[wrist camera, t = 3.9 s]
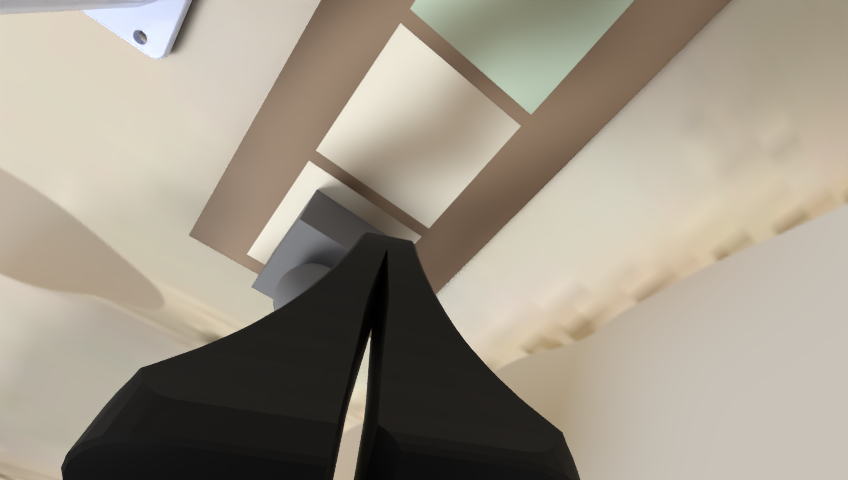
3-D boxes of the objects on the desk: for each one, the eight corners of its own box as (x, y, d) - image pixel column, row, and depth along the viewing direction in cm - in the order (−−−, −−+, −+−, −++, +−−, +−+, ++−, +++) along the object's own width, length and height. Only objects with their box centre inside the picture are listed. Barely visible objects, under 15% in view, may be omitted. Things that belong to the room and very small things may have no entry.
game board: (194, 229, 22) (188, 235, 21) (864, -953, 8) (894, -1017, 8) (385, 338, 25) (384, 345, 25) (1071, -353, 12) (1101, -369, 11)
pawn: (273, 251, 22) (224, 330, 17) (316, 189, 20) (277, 256, 15) (346, 294, 23) (321, 379, 18) (393, 239, 21) (380, 316, 16)
